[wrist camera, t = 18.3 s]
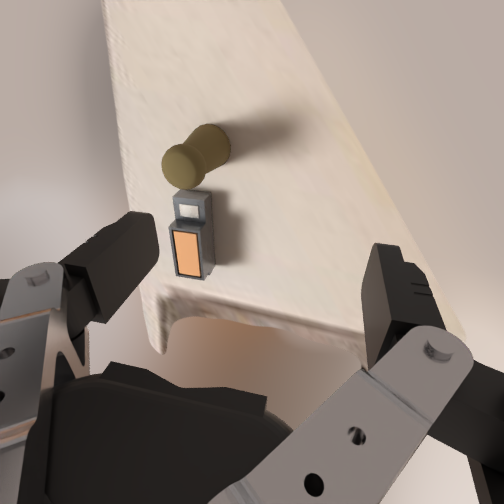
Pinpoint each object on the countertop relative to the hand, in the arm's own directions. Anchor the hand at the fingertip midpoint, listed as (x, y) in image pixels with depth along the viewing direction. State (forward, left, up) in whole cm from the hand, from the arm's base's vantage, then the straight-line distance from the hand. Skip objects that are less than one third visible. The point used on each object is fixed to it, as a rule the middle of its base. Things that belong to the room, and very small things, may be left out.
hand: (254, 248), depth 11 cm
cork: (+6, -14, -33) cm, 37 cm away
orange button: (+22, -17, -30) cm, 40 cm away
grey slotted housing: (+20, -16, -33) cm, 42 cm away
